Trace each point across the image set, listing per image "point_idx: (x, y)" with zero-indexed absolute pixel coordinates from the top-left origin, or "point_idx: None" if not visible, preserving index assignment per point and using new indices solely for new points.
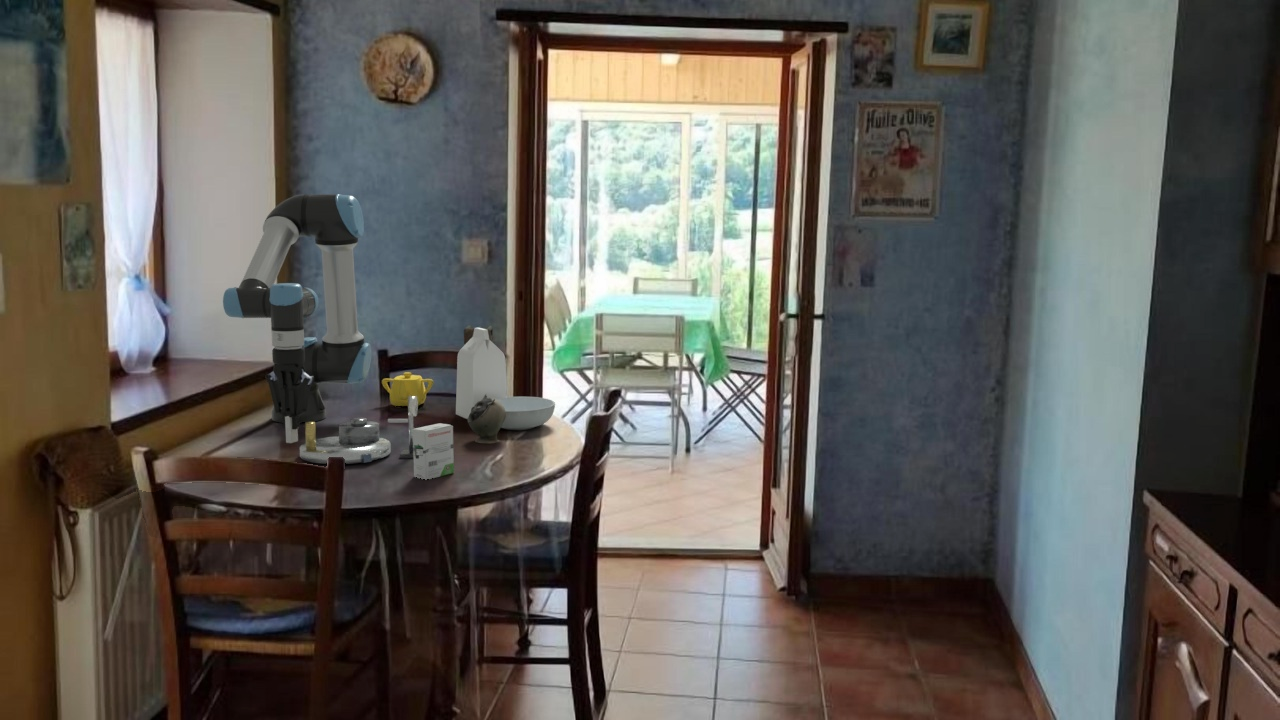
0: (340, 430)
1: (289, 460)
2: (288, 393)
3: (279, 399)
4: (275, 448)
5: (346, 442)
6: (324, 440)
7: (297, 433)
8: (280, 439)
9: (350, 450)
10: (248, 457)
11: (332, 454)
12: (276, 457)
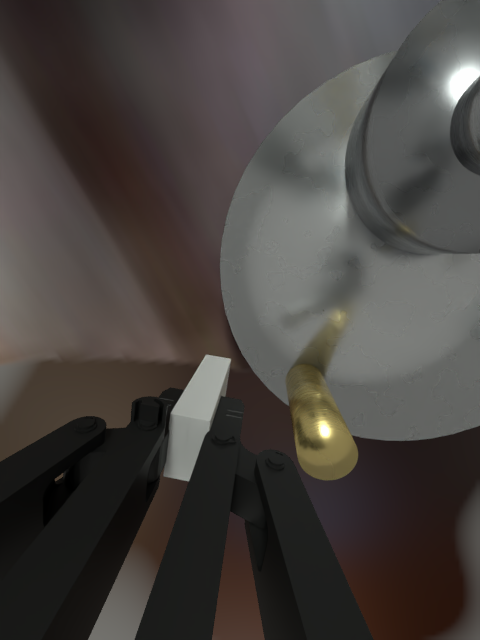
0: (397, 226)
1: None
2: (69, 629)
3: (18, 535)
4: (83, 221)
5: (411, 251)
6: (279, 206)
7: (226, 373)
8: (8, 66)
9: (462, 351)
10: (79, 357)
11: (411, 421)
12: (161, 340)
